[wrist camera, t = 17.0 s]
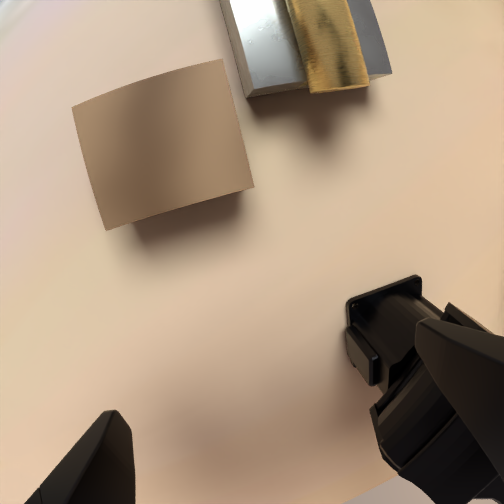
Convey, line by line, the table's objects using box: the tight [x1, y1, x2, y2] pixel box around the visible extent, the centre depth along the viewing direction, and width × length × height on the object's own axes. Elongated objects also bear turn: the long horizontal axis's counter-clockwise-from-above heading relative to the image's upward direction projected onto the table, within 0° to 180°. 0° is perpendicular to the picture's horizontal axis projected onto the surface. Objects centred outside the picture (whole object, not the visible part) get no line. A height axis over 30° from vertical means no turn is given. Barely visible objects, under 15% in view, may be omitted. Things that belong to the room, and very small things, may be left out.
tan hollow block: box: [72, 59, 254, 231], centre depth 15 cm, size 7×6×4 cm
